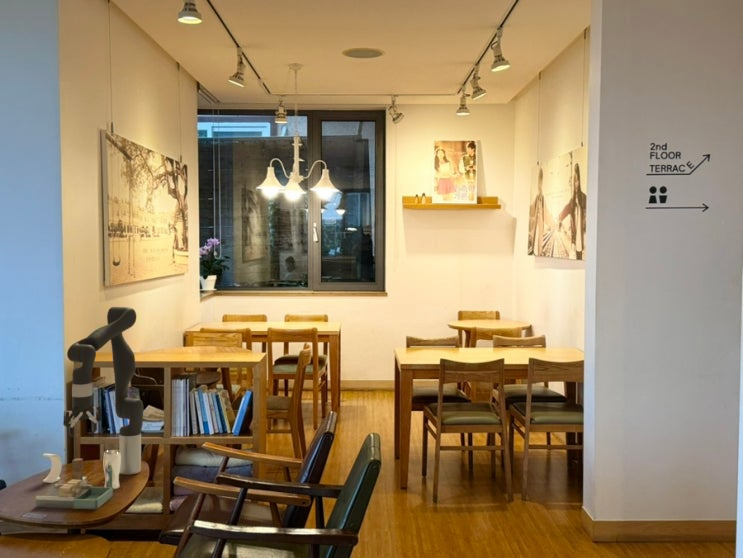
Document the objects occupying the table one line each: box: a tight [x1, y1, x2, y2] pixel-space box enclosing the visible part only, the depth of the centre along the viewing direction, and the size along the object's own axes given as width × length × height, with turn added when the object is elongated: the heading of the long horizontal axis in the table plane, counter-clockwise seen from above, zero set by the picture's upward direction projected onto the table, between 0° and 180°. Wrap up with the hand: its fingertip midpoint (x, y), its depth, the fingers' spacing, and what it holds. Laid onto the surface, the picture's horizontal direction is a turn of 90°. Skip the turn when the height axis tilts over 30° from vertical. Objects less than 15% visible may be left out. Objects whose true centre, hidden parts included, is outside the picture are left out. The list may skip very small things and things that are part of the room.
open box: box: [35, 483, 93, 510], centre depth 273 cm, size 15×15×4 cm
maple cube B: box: [59, 483, 74, 497], centre depth 270 cm, size 4×4×4 cm
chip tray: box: [74, 486, 114, 511], centre depth 272 cm, size 15×9×4 cm, turn 177°
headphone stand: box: [42, 453, 63, 484], centre depth 297 cm, size 5×6×12 cm
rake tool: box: [71, 458, 88, 485], centre depth 288 cm, size 11×3×12 cm, turn 177°
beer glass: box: [103, 449, 121, 490], centre depth 290 cm, size 7×7×15 cm
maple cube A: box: [66, 479, 82, 493], centre depth 276 cm, size 4×4×4 cm
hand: (82, 434), depth 276 cm, fingers open, 8 cm apart
